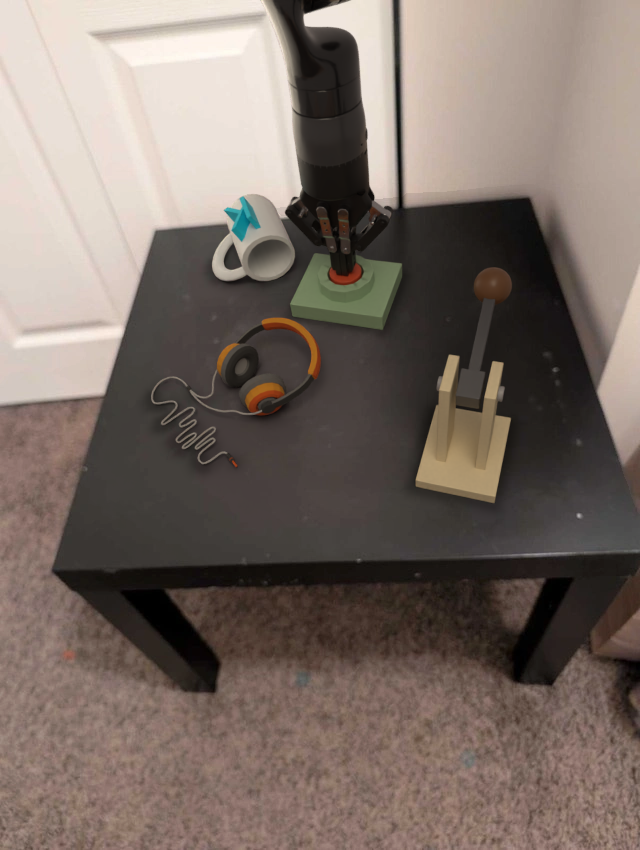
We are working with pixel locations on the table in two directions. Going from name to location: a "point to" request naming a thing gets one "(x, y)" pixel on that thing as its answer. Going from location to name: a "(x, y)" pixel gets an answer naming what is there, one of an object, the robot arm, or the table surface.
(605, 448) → the table surface
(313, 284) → the control block
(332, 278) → the button
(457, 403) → the lever
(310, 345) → the headphones
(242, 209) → the mug
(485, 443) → the switch bracket
